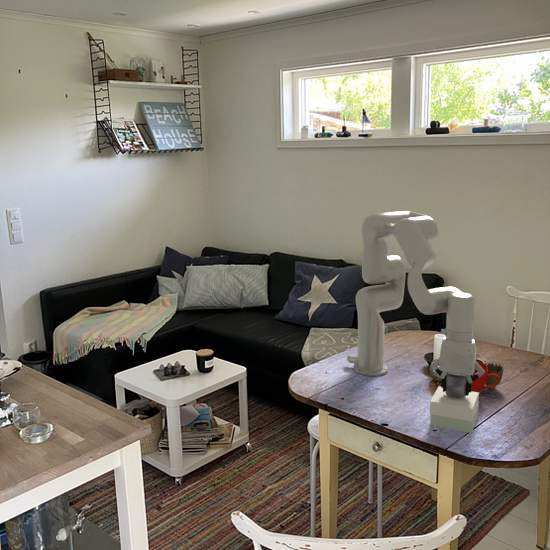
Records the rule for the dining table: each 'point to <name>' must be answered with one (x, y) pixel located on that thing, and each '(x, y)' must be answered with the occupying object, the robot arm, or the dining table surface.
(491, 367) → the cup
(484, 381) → the ceramic cup
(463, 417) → the tower top block
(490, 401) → the dining table surface
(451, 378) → the slate drum
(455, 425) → the tower base block
